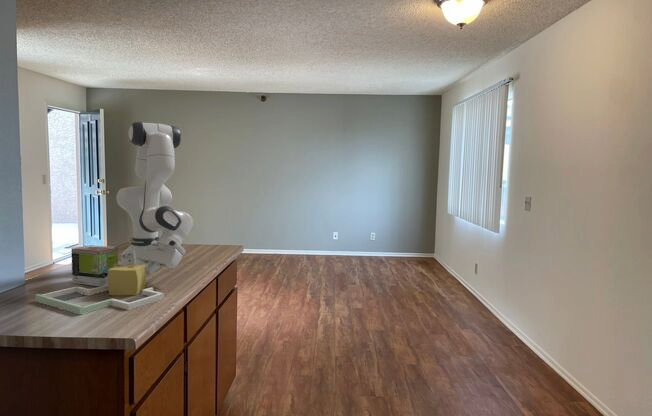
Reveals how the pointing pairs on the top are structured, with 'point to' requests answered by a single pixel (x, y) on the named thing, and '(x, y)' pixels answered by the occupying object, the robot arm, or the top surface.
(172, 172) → the robot arm
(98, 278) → the tea box
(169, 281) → the top surface
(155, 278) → the top surface
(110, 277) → the cheese
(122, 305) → the frame
